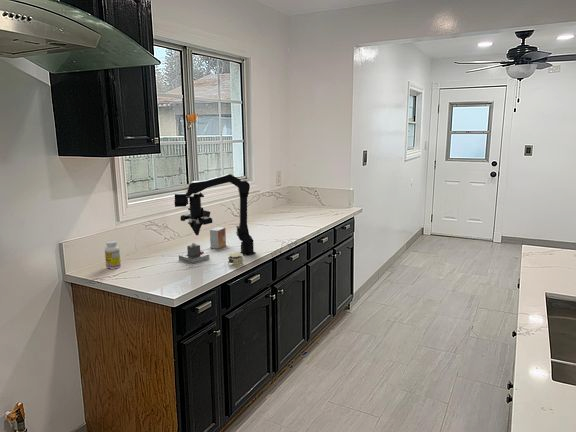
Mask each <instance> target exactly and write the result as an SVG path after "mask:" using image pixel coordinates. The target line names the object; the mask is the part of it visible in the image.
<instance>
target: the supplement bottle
mask: <svg viewBox="0 0 576 432" xmlns="http://www.w3.org/2000/svg"><path fill="white" fill-rule="evenodd" d="M105 243H106V244H105V245H106V247H105V248H104V254H105V255H104V258H105V267H106V269H108V268H110V269H109V270H112V269H111V268H116V269H118V267H119V268H120V267H121V265H122V263H121V252H120V250H121V249H120V247H119V246H118V245H117V244H118V243H117V241H116V240H109V241H107V242H105Z"/></svg>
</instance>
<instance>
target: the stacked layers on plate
mask: <svg viewBox="0 0 576 432" xmlns="http://www.w3.org/2000/svg"><path fill="white" fill-rule="evenodd" d="M227 256H228V257H227V259H228V261H227V262H228V263H229V264H232V265H233V267H236V268H237V267H239V266H241V265H243V264H244V263H243V262H244V261H245V260H244V259H243V258H244V256H245V255H243V254H241V253H240V252H235V253H229V254H227Z"/></svg>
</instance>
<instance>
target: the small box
mask: <svg viewBox="0 0 576 432" xmlns="http://www.w3.org/2000/svg"><path fill="white" fill-rule="evenodd" d="M226 231H227V230H226V227H220V226H217V227H214V228H212V229H209V241H210V243H209V244H210V245H209V246H210V248H212V249H220V248H223V247H226V246H227V238H226Z"/></svg>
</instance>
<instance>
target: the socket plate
mask: <svg viewBox="0 0 576 432" xmlns="http://www.w3.org/2000/svg"><path fill="white" fill-rule="evenodd" d="M208 260H210V254H209V253H206V252H204V250H200V255H199V256H196V257H190V256H188V252H186V253H182V254H179V255H178V261H182V262H184V263H188V264H191V265H194V264H198V263H201V262H204V261H208Z"/></svg>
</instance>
